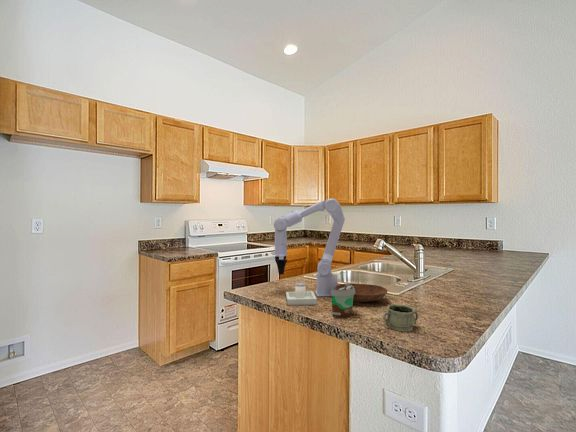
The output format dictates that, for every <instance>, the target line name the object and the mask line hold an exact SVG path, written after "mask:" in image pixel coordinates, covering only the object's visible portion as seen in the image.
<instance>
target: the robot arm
mask: <svg viewBox="0 0 576 432" xmlns="http://www.w3.org/2000/svg"><path fill="white" fill-rule="evenodd" d="M325 210H326V212H327V213H328V214H330V216H331V218H332V219H333V223H332V226H331V229H330V232H329V234H328V235H329V236H328V239H327V243H326V246H325V248H324V251H323V255H322V257H321V259H320V260H319V262H318V263H317V266H316V267H317V268H316V269H317V273H316V290H315V291H314V294H315V296H316V297H332V296H331V289H332V290H336V289H335V287H336V286H338V285H339V282H338V275H336V274H333V273H332V262H333V257H334V255H335V252H336V249H337V246H338V242H339V239H340V235H341V232H342V229H343V226H344V223H345V215H344V212H343V209H342V206H341V204H340V203H339V201H338V200H337V199H335V198H328V199H326V200H321V201H319V202H316V203H314V204H312V205H311V206H308V207H306V208H305V209H303V210H301V211H299V210H291V211H290V213H288V214H285V215H281V217H278V218H277V219H275V220H274V223H273V228H274V252H272V256H274V261H275V263H276V265H277V266H276V267H277V273H278V275H280V276H281V275H284V273H285V270H286V269H285V267H286V264H287V262H288V259H286V258H287V256H288V234H287V229H288V228H290V227H293V226H295V225H297V224H299V223H301V222H302V221H303V219H304V218H305V217H308V216H309V215H312V214H314V213H316V212H325Z"/></svg>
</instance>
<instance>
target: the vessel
mask: <svg viewBox="0 0 576 432" xmlns="http://www.w3.org/2000/svg"><path fill="white" fill-rule="evenodd" d="M418 319H419V313H418V312H417V310H415V307H413V306H410V305H406V304H399V303H397V304H396V303H395V304H389V305H388V306H387V311H385V312H384V313H383V320H384V322H385V326H387V327H389V326H390V327H389V328H391V329H393V330H394V331H399V332H411V331H413V330H414V327H413V325H417V321H418Z"/></svg>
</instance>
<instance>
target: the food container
mask: <svg viewBox="0 0 576 432" xmlns="http://www.w3.org/2000/svg"><path fill="white" fill-rule="evenodd" d="M344 284H345V286H344V287H340V288H338V289H337V290H332V289H331V296H330V297H331V309H332V310H331V311H332V313H331V314H332V317H335V318H348V317H351V316H352V315H353V305H354V301H353V295H354V294H355V289H354V286H352V285H350V284H351V283H344Z"/></svg>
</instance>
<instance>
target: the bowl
mask: <svg viewBox="0 0 576 432" xmlns="http://www.w3.org/2000/svg"><path fill="white" fill-rule="evenodd" d="M345 284H346V283H343V284H338V286H336V287H335V289H336V290H337V289H338V288H340V287H344V286H345ZM349 284H350V285H352V286H354V289H355V294H354V295H353V302H360V303H371V302H375V301H379V300H381V299H383V298H384V297H385V296H386V295H387V294H388V289H387V288H385V287H383V286H381V285H376V284H369V283H349Z"/></svg>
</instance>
